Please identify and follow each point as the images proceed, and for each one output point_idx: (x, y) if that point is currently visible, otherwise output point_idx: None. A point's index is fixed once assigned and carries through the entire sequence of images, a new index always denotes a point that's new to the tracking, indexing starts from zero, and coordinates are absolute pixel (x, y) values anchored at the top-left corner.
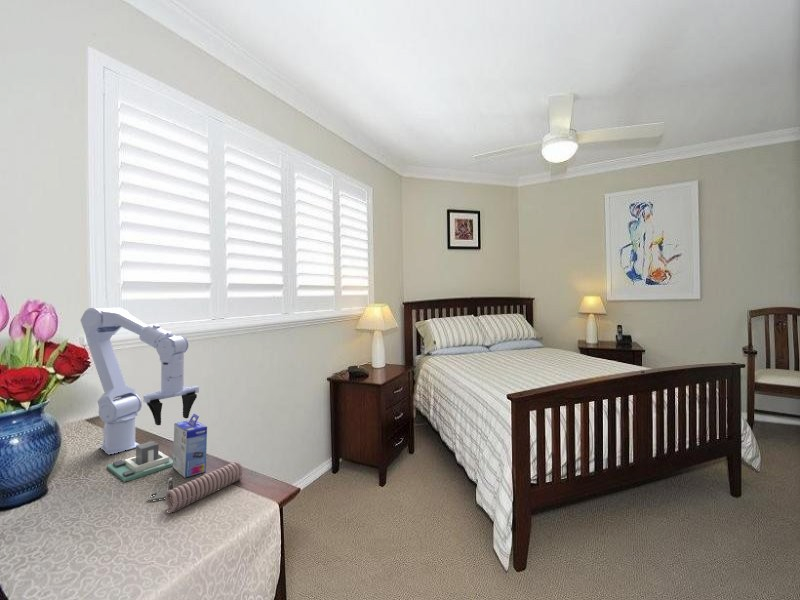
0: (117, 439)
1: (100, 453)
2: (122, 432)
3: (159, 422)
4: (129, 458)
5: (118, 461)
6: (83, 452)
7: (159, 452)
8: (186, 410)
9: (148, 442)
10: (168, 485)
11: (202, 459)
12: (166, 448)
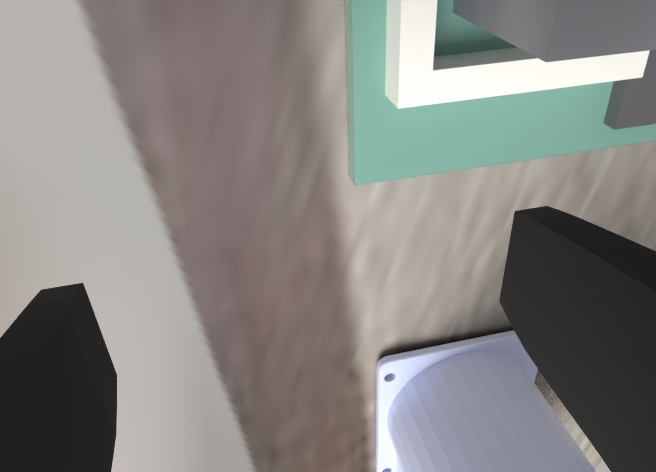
0: (538, 410)
1: (543, 378)
2: (541, 448)
3: (567, 223)
4: (611, 75)
5: (639, 114)
6: (572, 428)
7: (412, 17)
8: (46, 421)
9: (599, 36)
10: None
11: None
12: (260, 223)
